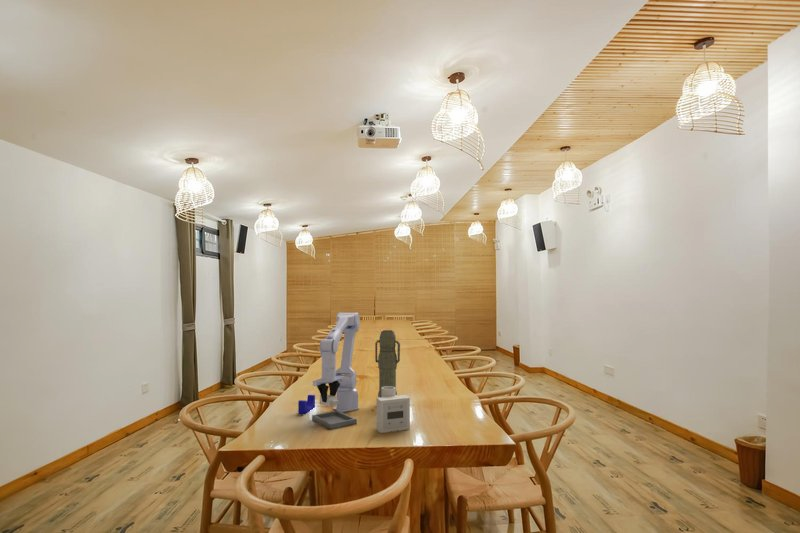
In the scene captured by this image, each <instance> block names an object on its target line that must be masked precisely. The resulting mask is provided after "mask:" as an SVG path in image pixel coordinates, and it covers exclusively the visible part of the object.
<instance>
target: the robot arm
mask: <svg viewBox="0 0 800 533" xmlns="http://www.w3.org/2000/svg"><path fill="white" fill-rule="evenodd" d="M360 322H361V318H360V314H359V312H341V311H340V312H338V313H337V314H336V324H335V326H334V328H331V329H330V331H329V332H328V334H327V335H326V337H325V338H322V339H321V340H320V343H319V345H318V346H319V347H318V349H319V352H320V355H319V356H320V357H321V378H319V379H315V380H312V387H313V386H314V387H316V388H317V389H318V392H319V393H320V394H319V395H321V398H322V402H327V394H328V391H329V395H332V396H336V400H339V404H336V405H335V406H333V407H332V409H333V410H334V411H337V410H338V411H340V412H342V413H345V412H349V411H356V410H360V408H359V394H358V390H357V388H356V386H357V373H356V371H355V370H354V369H353V368H352V363H353V355H354V354H353V353H354V345H355V338H356V333H358V332H359V329H360ZM343 333H344V338H343ZM342 338H343V344H342V351H341V352H342V353H341V360H340V366H339V368H336V365H337V364H336V354H337V352H338V349H339V346H340V342H341V339H342ZM327 384H328V385H327Z"/></svg>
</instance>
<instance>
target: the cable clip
mask: <svg viewBox="0 0 800 533" xmlns="http://www.w3.org/2000/svg"><path fill="white" fill-rule="evenodd" d="M297 408H298V409H297V410H298V411H297V415H299V414H304V415H303V416H305V415H307V414H308V413H309V412H311V411H312V410H314V409H315V408H316V394H308V395H307V400H301V399H299V400H298V407H297ZM313 408H314V409H313ZM310 410H311V411H310ZM306 413H307V414H306Z"/></svg>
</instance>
